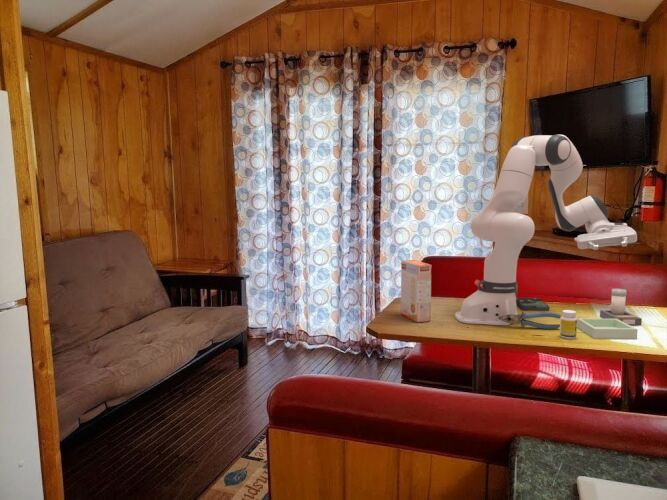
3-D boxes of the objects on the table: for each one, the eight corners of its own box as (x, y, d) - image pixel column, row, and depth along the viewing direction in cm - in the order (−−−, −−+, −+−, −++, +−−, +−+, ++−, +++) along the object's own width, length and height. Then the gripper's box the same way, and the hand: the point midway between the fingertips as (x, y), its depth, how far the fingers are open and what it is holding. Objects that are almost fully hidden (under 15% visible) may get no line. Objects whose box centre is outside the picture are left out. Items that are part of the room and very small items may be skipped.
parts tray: (594, 338, 157) (594, 329, 157) (576, 327, 170) (577, 318, 170) (636, 338, 157) (637, 329, 156) (616, 327, 169) (616, 318, 169)
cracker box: (431, 321, 179) (432, 264, 177) (416, 323, 177) (416, 265, 175) (414, 312, 192) (415, 259, 190) (400, 314, 191) (400, 259, 188)
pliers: (498, 328, 170) (499, 311, 170) (497, 326, 172) (498, 309, 172) (560, 330, 167) (561, 313, 166) (559, 328, 169) (559, 311, 169)
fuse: (613, 321, 177) (615, 290, 176) (607, 318, 182) (609, 288, 181) (627, 321, 177) (629, 291, 176) (620, 318, 182) (622, 288, 180)
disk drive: (511, 303, 209) (522, 311, 194) (512, 297, 208) (523, 304, 194) (537, 304, 208) (550, 312, 193) (537, 297, 208) (550, 305, 193)
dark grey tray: (616, 325, 172) (616, 317, 172) (599, 316, 184) (600, 309, 184) (641, 325, 171) (641, 317, 171) (623, 316, 183) (623, 309, 183)
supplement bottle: (578, 339, 157) (579, 313, 156) (561, 338, 157) (563, 312, 156) (573, 335, 161) (575, 309, 160) (558, 334, 162) (559, 309, 161)
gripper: (572, 230, 199) (578, 242, 187) (630, 222, 192) (640, 234, 180) (574, 245, 201) (580, 258, 189) (631, 237, 194) (641, 250, 182)
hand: (610, 246), depth 184 cm, fingers open, 8 cm apart
